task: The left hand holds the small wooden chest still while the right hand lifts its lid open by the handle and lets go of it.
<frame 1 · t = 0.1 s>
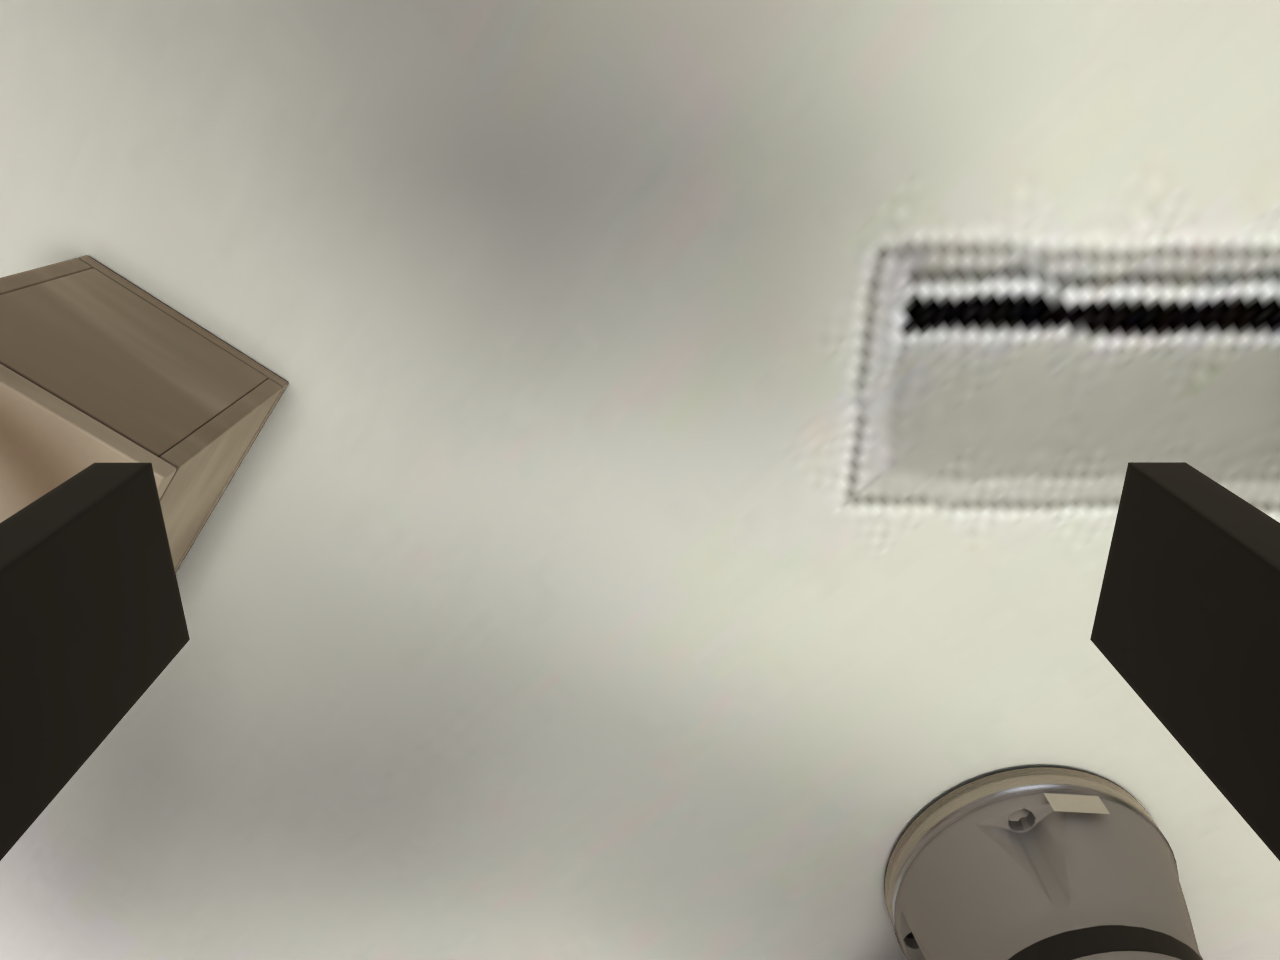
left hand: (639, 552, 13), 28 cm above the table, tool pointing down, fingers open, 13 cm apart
chest: (109, 470, 42), on the table
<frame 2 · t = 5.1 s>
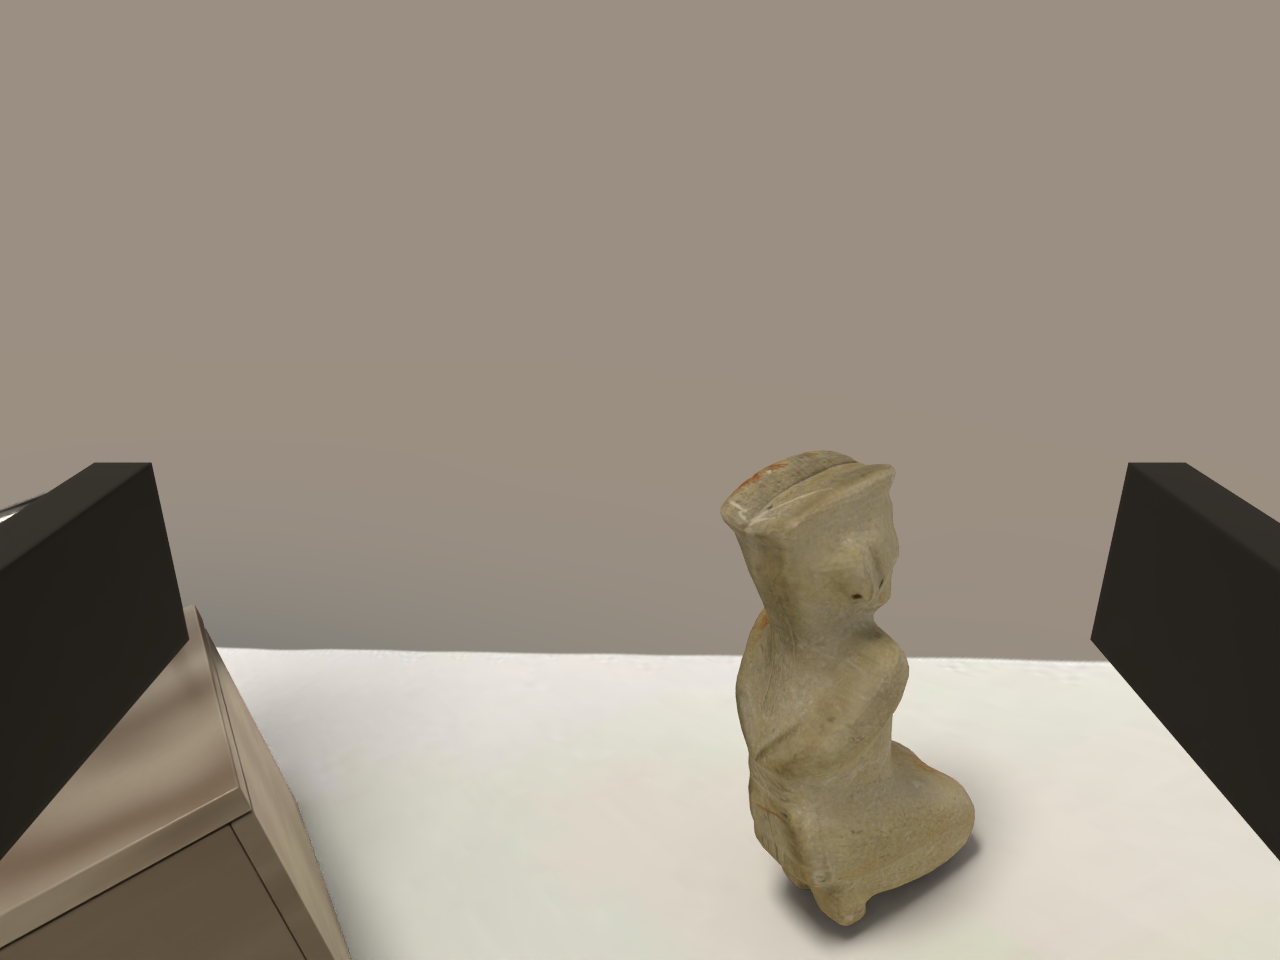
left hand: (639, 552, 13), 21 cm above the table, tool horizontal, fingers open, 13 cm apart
sculpture: (874, 867, 32), on the table
lid: (31, 662, 32), point 15 cm above the table, hinge at 0.0°
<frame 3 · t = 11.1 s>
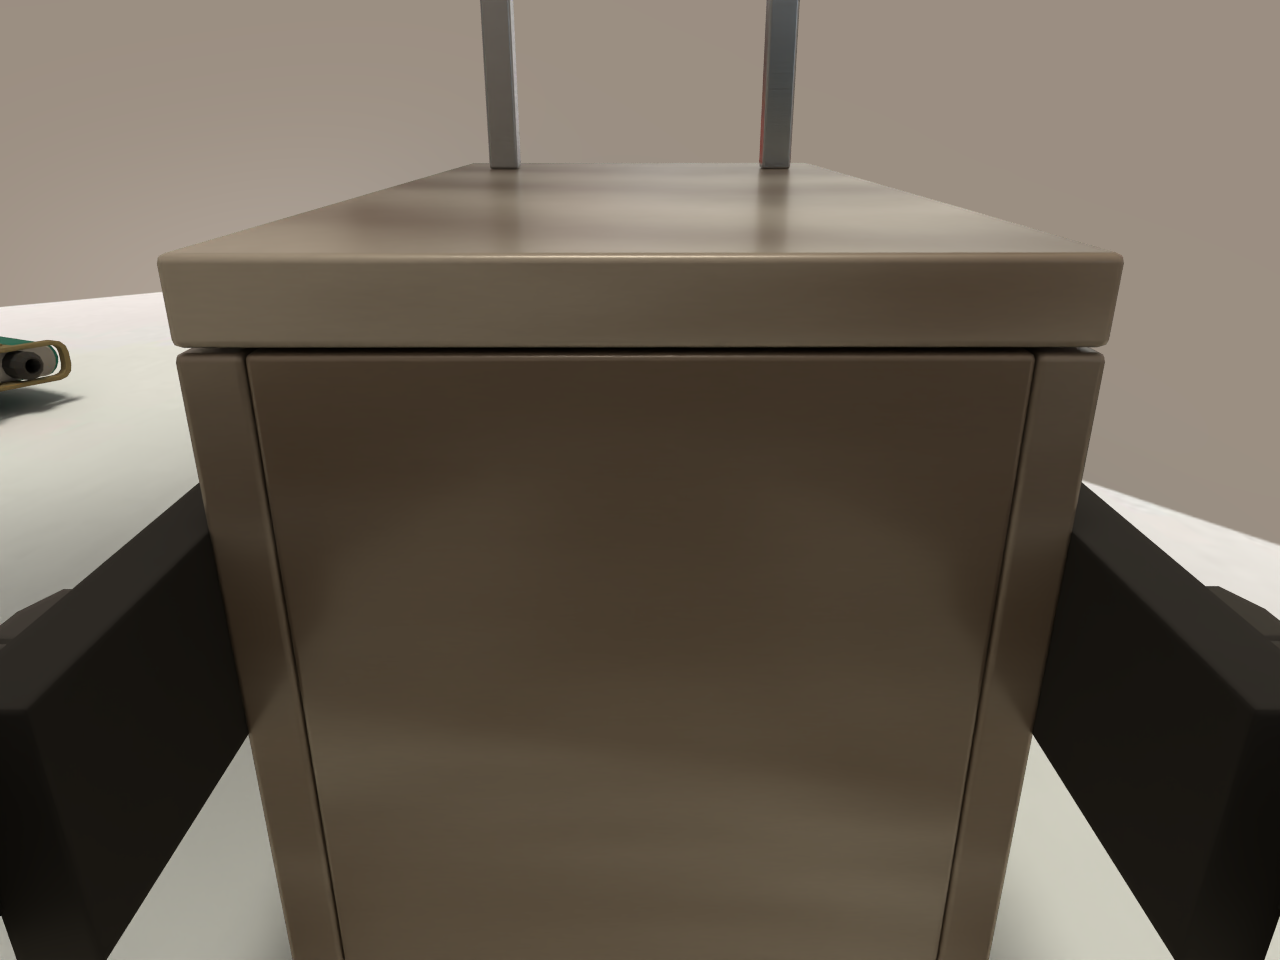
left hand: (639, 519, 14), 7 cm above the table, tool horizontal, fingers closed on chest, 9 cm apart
chest: (640, 703, 21), on the table, touching left hand
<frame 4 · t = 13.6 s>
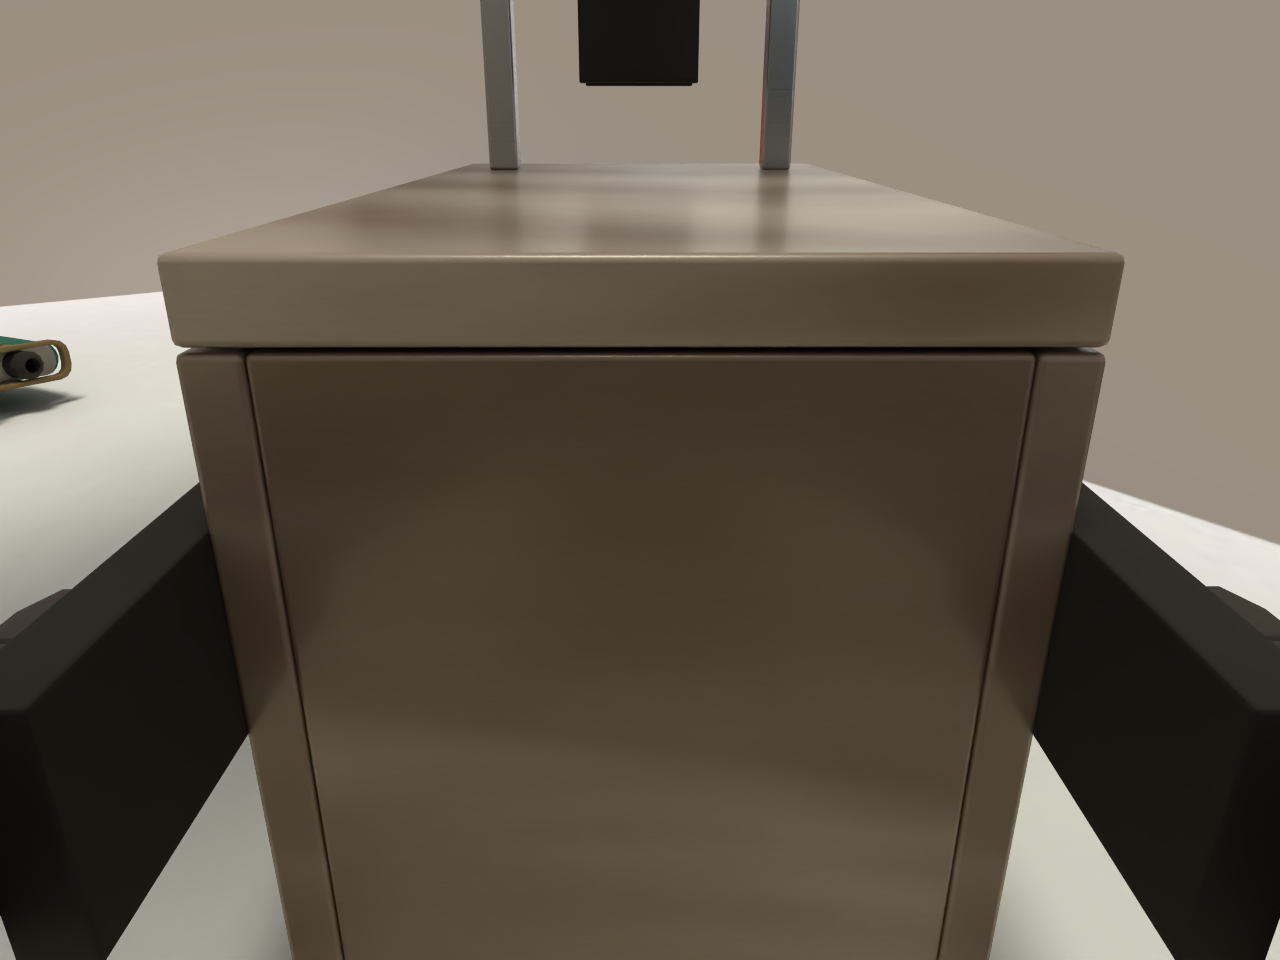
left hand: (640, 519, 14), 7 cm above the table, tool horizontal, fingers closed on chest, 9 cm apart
chest: (640, 703, 21), on the table, touching left hand
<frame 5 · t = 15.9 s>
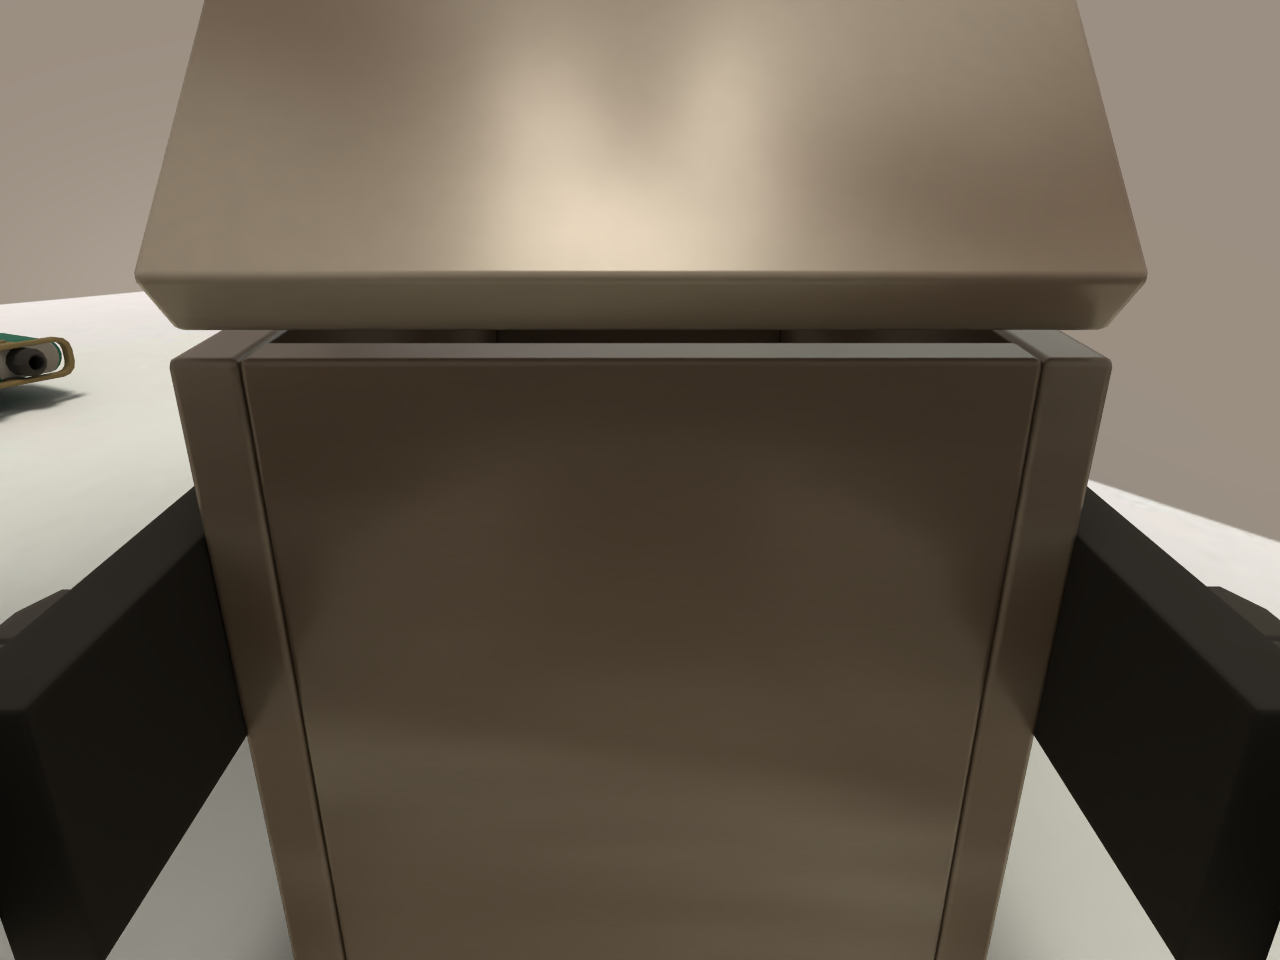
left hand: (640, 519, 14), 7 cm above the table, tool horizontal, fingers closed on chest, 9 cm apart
chest: (639, 693, 21), on the table, touching left hand
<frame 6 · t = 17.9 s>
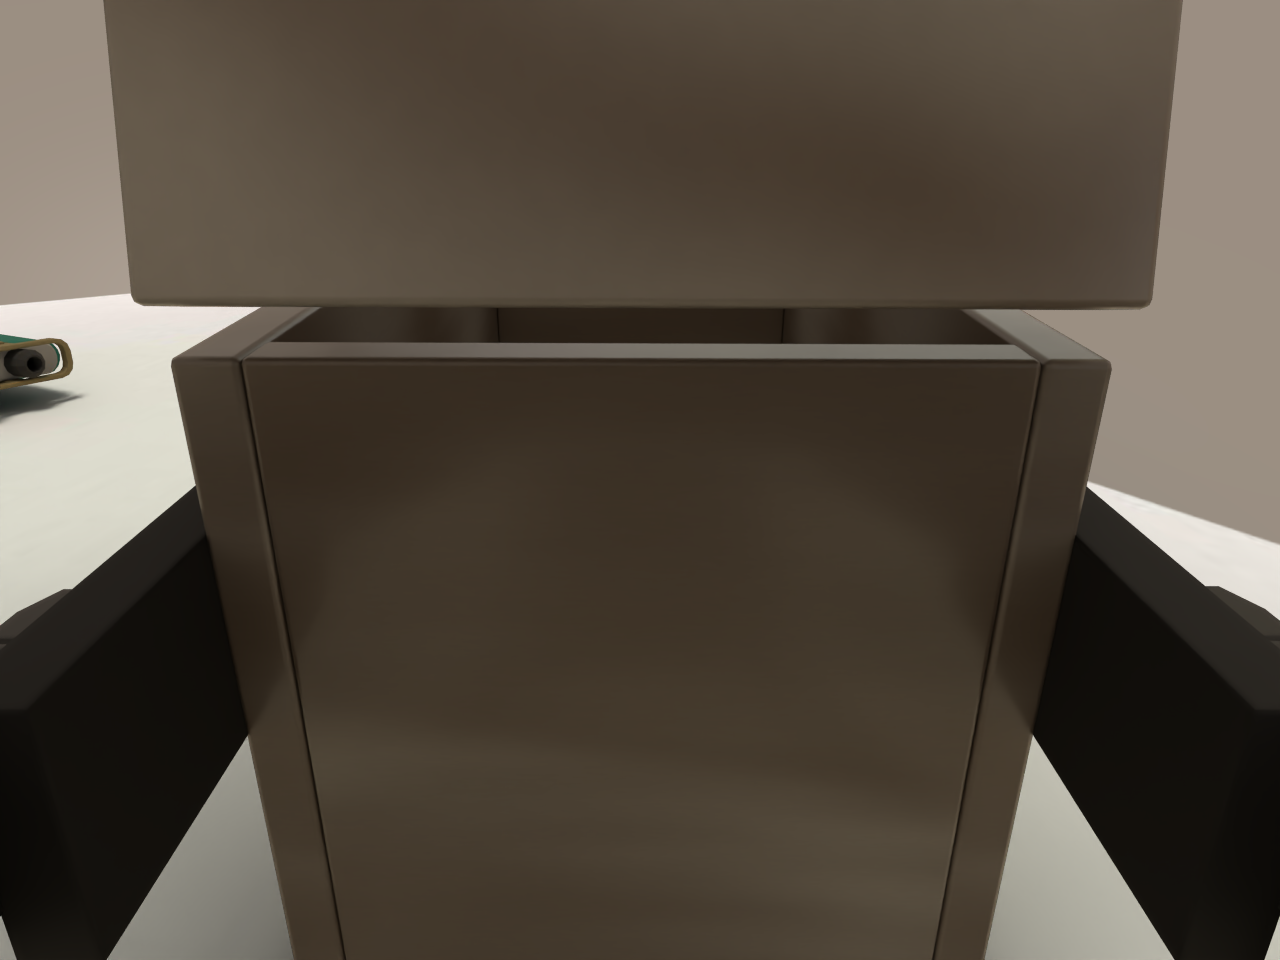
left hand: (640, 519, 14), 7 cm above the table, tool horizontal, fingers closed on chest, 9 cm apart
chest: (639, 692, 21), on the table, touching left hand
when the left hand's fingers open (7 cm above the table, at t = 21.7 s): chest stays where it is, on the table.
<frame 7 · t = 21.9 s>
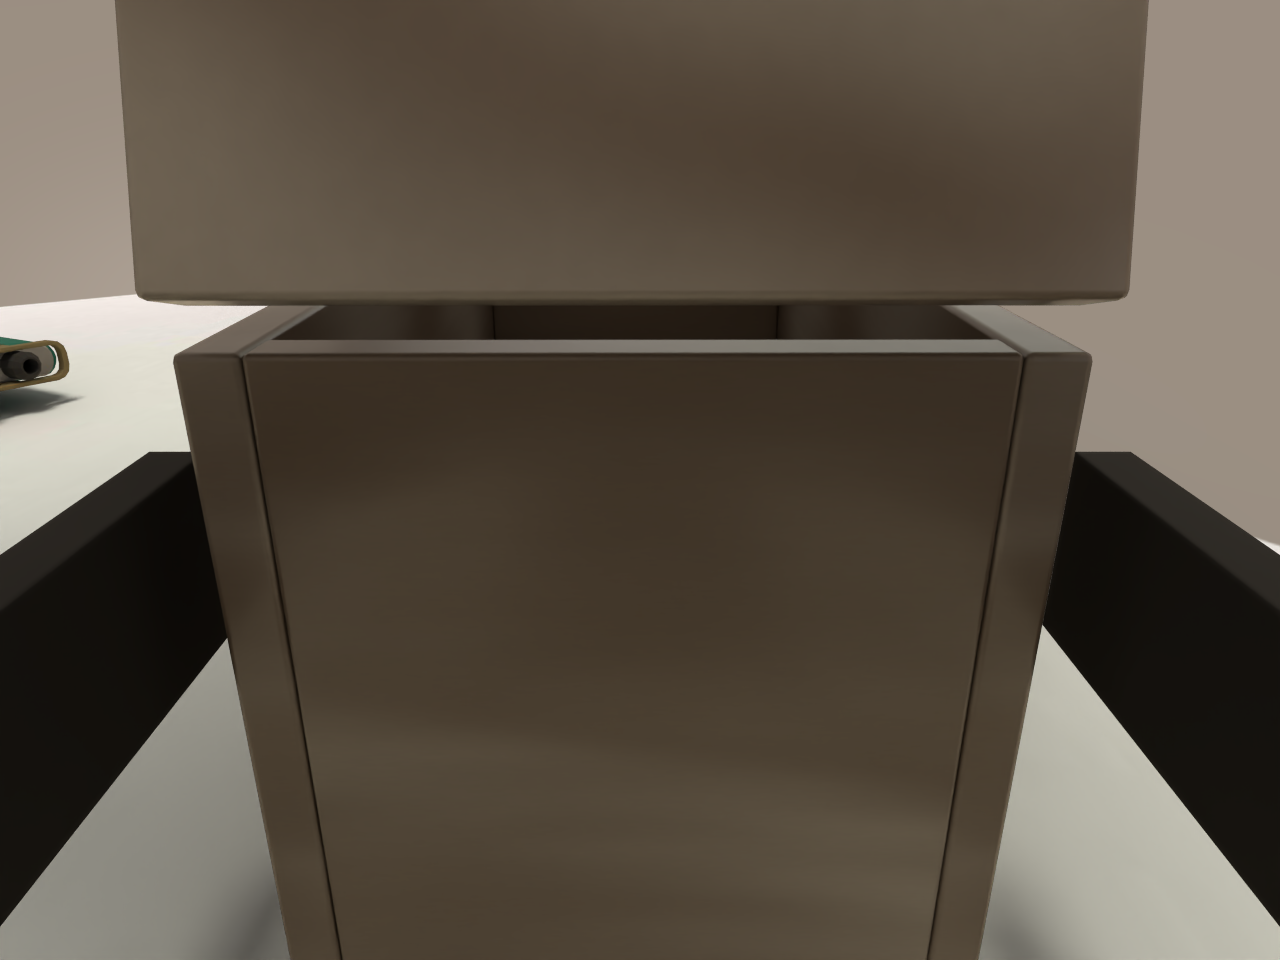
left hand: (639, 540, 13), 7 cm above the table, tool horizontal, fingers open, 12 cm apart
chest: (635, 700, 21), on the table
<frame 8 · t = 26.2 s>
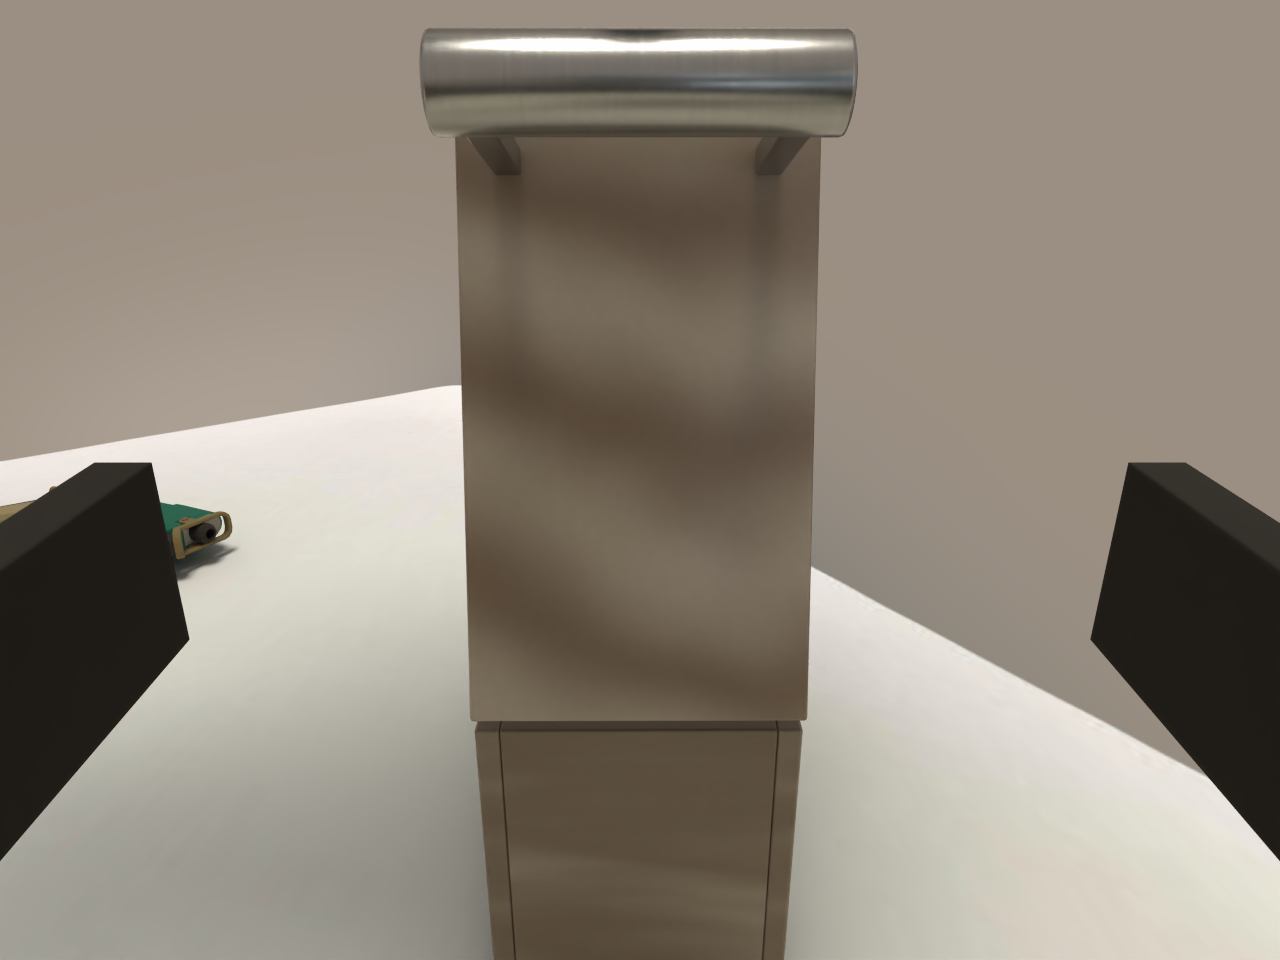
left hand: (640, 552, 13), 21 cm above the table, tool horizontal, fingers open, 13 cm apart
spray gun: (79, 558, 60), on the table
chest: (638, 805, 38), on the table
lid: (638, 407, 21), point 21 cm above the table, hinge at 75.4°
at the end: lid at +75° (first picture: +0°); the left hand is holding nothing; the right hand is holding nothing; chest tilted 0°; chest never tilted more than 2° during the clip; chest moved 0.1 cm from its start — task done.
